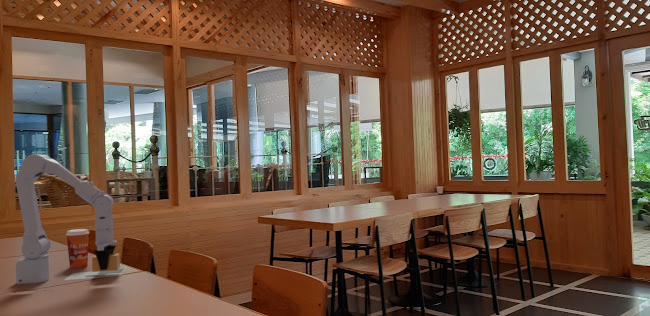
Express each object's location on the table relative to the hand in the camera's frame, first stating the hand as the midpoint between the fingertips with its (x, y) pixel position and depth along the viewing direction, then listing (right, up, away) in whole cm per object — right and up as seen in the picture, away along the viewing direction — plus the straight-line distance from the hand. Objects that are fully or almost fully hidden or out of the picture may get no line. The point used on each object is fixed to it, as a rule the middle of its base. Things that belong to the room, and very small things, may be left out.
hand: (105, 267), depth 179 cm
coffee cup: (-18, -5, +18) cm, 25 cm away
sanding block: (0, -1, 0) cm, 1 cm away
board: (-4, -4, +2) cm, 6 cm away
